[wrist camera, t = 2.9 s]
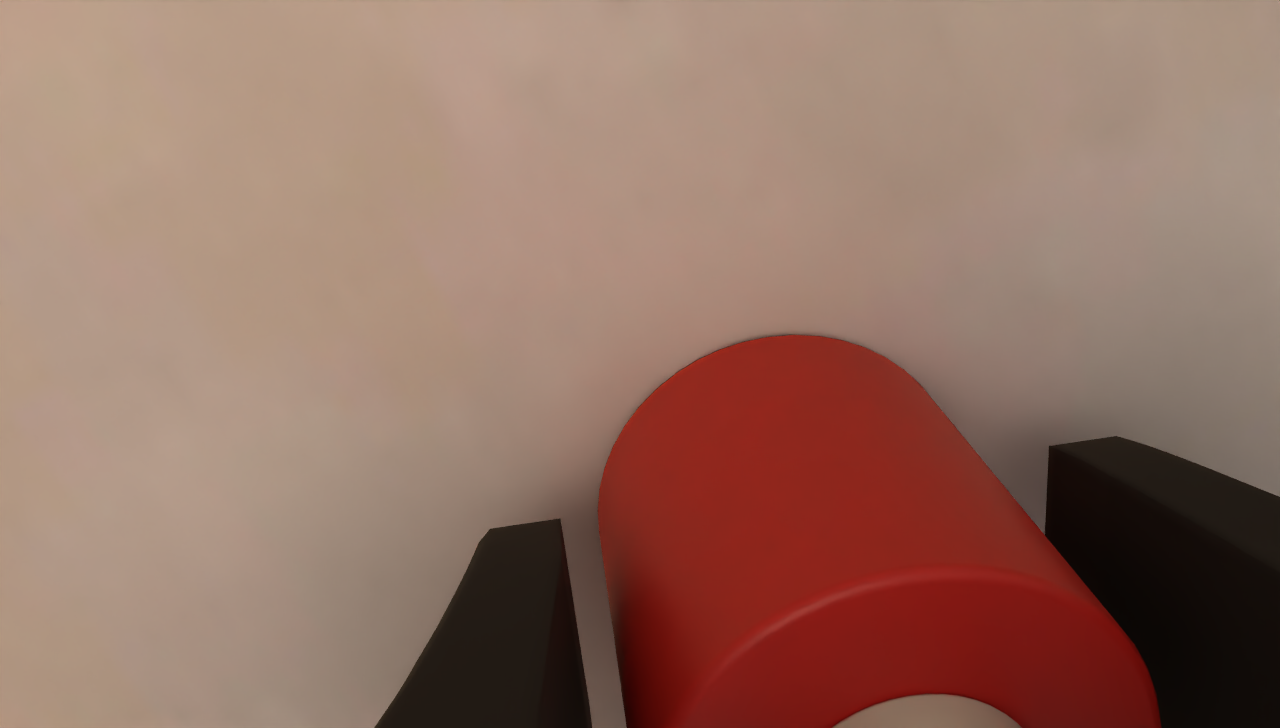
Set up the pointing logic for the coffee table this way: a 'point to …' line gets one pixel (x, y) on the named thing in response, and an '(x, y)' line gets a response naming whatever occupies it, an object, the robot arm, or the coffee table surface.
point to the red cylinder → (839, 562)
